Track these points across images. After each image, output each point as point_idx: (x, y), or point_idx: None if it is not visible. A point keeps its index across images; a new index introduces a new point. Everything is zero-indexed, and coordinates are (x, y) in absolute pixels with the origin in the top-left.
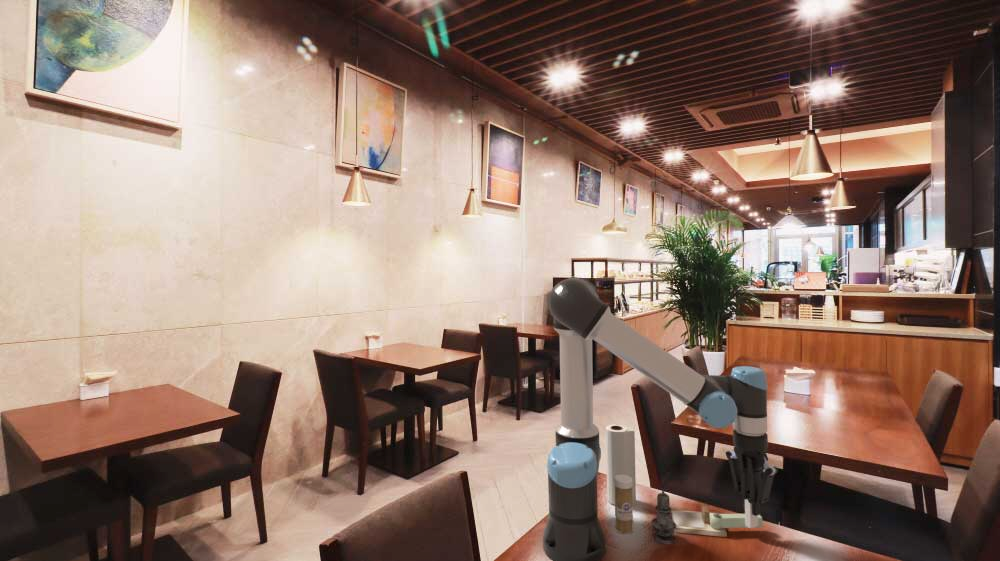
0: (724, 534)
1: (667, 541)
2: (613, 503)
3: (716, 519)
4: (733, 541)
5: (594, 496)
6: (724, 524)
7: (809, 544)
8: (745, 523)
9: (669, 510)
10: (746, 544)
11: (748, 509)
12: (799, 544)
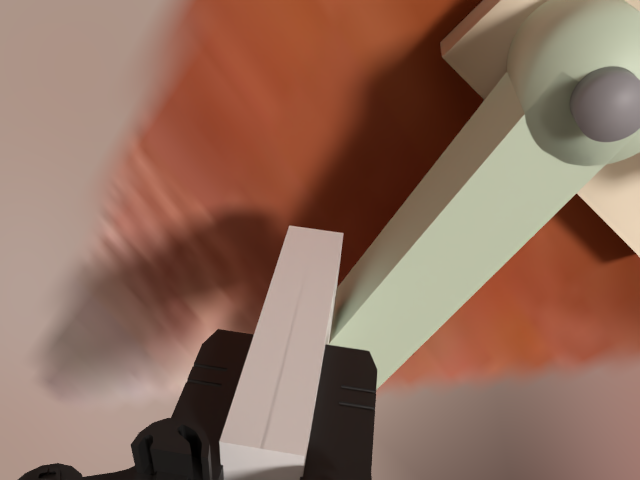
0: (458, 35)
1: None
2: None
3: (564, 35)
4: (363, 33)
5: None
6: (491, 108)
7: (119, 370)
8: (338, 245)
9: None
10: (276, 88)
11: (269, 355)
12: (137, 340)
